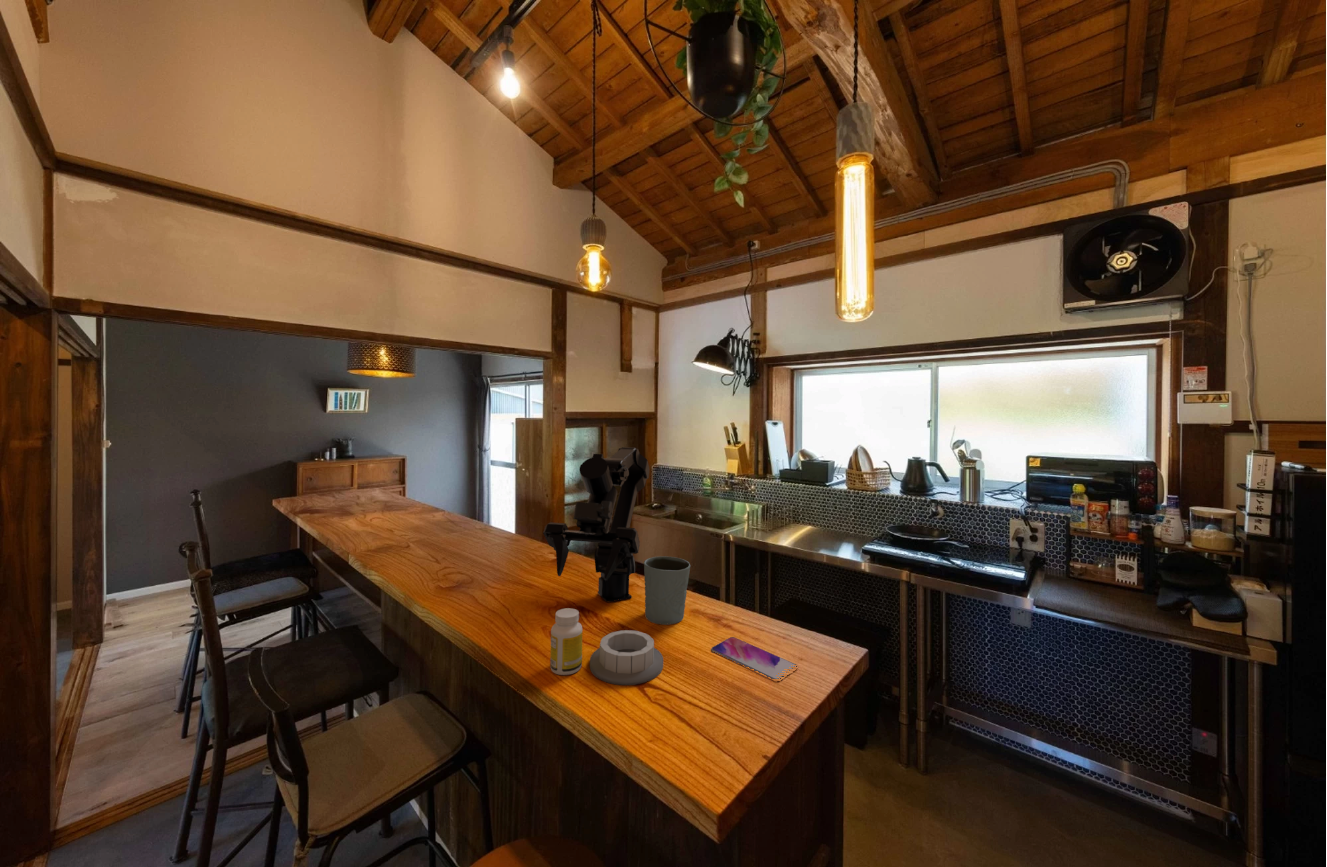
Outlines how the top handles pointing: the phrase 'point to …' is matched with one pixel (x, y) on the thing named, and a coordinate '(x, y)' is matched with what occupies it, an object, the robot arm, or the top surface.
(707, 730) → the top surface
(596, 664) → the socket collar
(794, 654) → the top surface
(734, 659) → the smartphone
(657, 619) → the grey green cup
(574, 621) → the supplement bottle
